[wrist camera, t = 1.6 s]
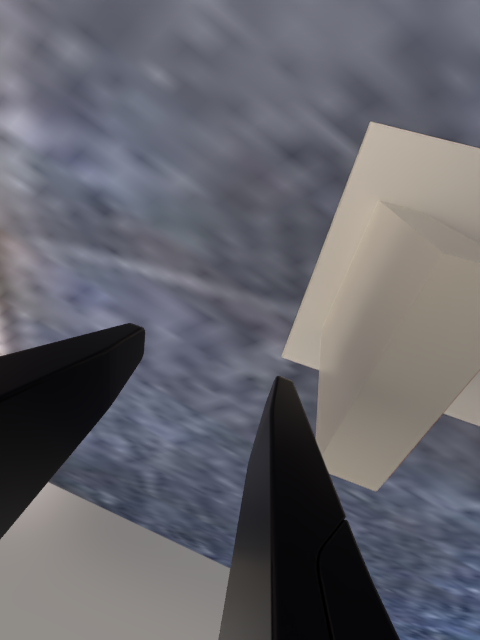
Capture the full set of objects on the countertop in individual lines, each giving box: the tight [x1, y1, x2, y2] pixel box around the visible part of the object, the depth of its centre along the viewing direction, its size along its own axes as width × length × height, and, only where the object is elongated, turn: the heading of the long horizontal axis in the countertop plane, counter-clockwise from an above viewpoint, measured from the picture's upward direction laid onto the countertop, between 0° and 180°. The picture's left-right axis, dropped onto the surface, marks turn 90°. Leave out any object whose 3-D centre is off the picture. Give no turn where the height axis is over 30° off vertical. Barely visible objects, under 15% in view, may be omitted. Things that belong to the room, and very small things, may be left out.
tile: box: [316, 200, 480, 492], centre depth 13 cm, size 2×8×10 cm, turn 166°
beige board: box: [282, 122, 480, 426], centre depth 16 cm, size 18×14×1 cm
